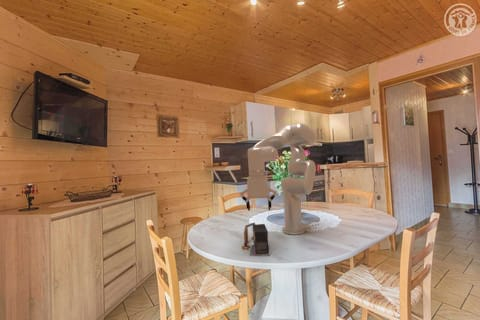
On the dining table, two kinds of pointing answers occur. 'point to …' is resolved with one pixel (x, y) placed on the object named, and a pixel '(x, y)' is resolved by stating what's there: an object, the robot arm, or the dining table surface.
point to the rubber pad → (252, 253)
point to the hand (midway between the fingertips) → (259, 209)
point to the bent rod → (246, 237)
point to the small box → (260, 239)
